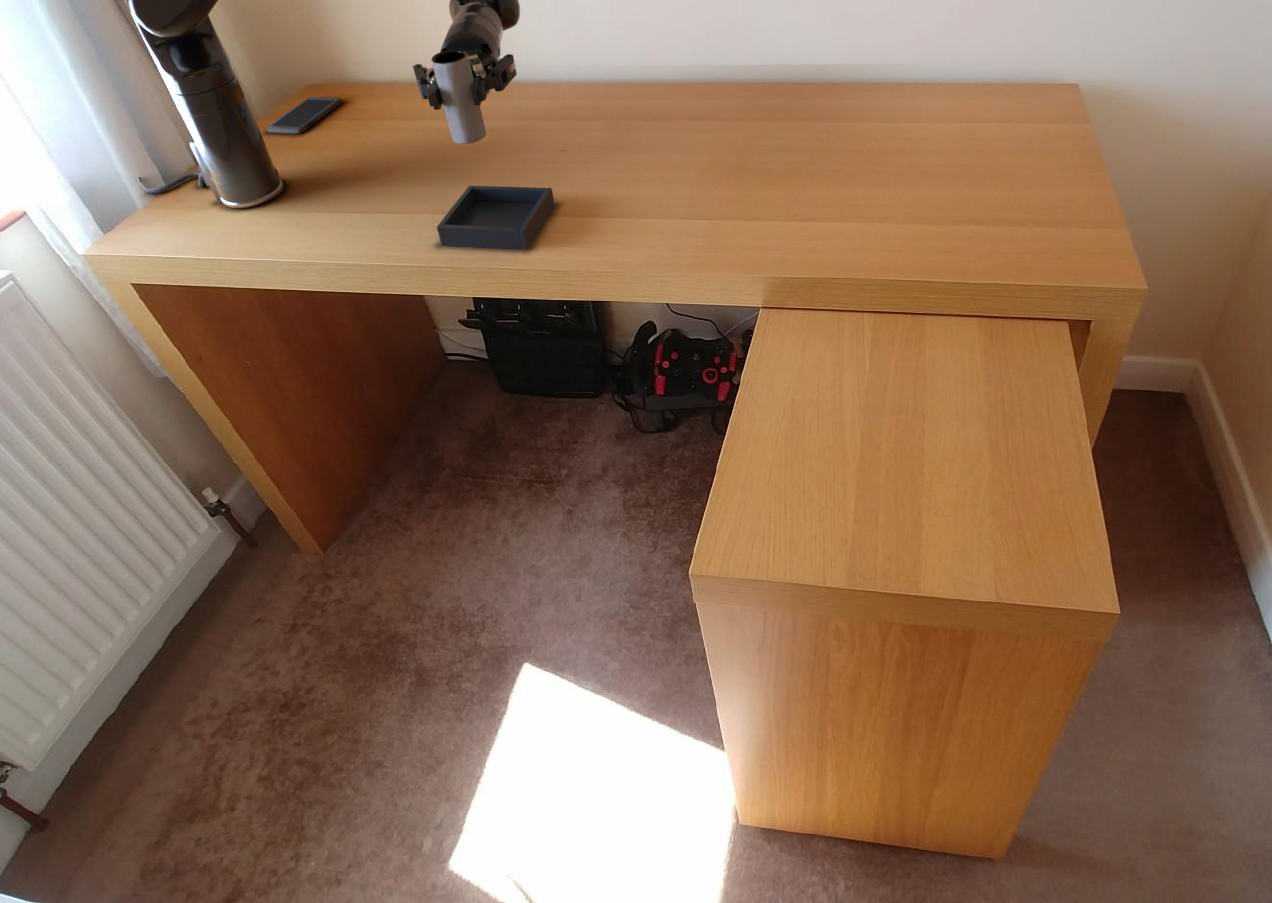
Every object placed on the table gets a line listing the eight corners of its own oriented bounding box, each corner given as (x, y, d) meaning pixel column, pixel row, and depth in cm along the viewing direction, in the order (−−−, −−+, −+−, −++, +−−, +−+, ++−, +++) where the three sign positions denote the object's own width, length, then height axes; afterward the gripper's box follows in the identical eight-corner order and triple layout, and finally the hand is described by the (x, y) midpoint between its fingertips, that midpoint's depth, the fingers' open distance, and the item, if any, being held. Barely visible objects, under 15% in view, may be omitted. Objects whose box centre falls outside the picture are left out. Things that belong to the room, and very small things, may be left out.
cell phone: (343, 101, 154) (342, 97, 153) (300, 134, 144) (298, 130, 144) (310, 100, 156) (309, 96, 155) (266, 132, 147) (264, 128, 146)
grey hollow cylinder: (493, 135, 109) (474, 53, 101) (464, 147, 107) (443, 66, 100) (474, 126, 111) (454, 46, 104) (446, 138, 109) (424, 58, 102)
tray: (441, 245, 113) (436, 227, 111) (473, 203, 121) (469, 185, 119) (527, 249, 110) (523, 230, 108) (554, 206, 118) (551, 187, 116)
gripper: (413, 26, 113) (389, 75, 101) (517, 15, 112) (505, 62, 100) (428, 82, 118) (407, 135, 106) (527, 71, 117) (517, 123, 105)
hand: (455, 99), depth 103 cm, fingers closed on grey hollow cylinder, 4 cm apart
